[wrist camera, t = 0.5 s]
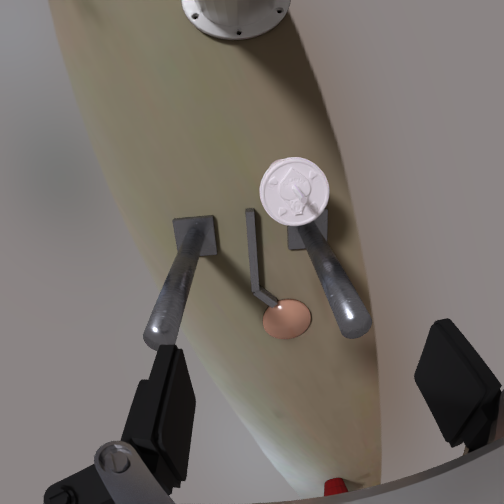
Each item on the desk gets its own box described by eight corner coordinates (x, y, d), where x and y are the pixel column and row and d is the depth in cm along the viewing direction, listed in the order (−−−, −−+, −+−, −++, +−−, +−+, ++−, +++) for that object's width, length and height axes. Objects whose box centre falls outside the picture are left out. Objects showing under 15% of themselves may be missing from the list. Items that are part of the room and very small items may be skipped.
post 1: (173, 218, 38) (118, 312, 20) (212, 215, 38) (186, 310, 20) (179, 254, 40) (137, 363, 22) (217, 252, 40) (198, 363, 22)
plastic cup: (324, 489, 77) (329, 518, 66) (311, 482, 73) (316, 514, 62) (354, 479, 75) (361, 508, 64) (344, 471, 71) (351, 504, 60)
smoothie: (305, 144, 35) (340, 160, 22) (312, 195, 37) (347, 238, 24) (251, 152, 35) (255, 173, 22) (261, 204, 38) (270, 252, 25)
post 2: (286, 209, 38) (325, 300, 20) (326, 207, 38) (393, 292, 20) (287, 246, 40) (320, 355, 22) (325, 244, 40) (381, 346, 22)
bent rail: (245, 208, 38) (245, 212, 36) (272, 206, 38) (274, 210, 36) (252, 303, 43) (253, 309, 42) (276, 301, 43) (277, 307, 42)
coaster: (261, 300, 43) (261, 303, 43) (310, 296, 43) (311, 299, 43) (263, 338, 46) (264, 340, 46) (309, 334, 46) (309, 336, 46)
